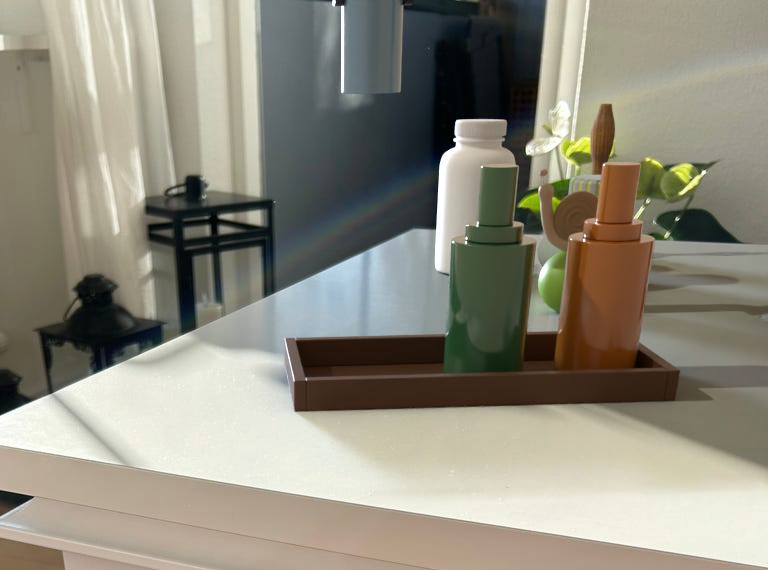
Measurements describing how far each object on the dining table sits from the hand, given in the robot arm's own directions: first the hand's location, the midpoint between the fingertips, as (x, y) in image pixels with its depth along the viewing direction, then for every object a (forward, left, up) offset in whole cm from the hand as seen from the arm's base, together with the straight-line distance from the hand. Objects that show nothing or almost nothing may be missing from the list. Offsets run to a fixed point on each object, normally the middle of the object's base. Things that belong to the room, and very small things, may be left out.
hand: (372, 4), depth 83 cm
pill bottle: (-14, -20, -25) cm, 35 cm away
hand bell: (-30, -28, -25) cm, 48 cm away
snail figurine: (-18, +1, -25) cm, 31 cm away
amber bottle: (-13, +26, -24) cm, 37 cm away
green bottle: (-5, +26, -24) cm, 35 cm away
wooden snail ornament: (-25, -13, -25) cm, 38 cm away
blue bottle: (0, 0, -6) cm, 6 cm away
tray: (-4, +26, -25) cm, 36 cm away
